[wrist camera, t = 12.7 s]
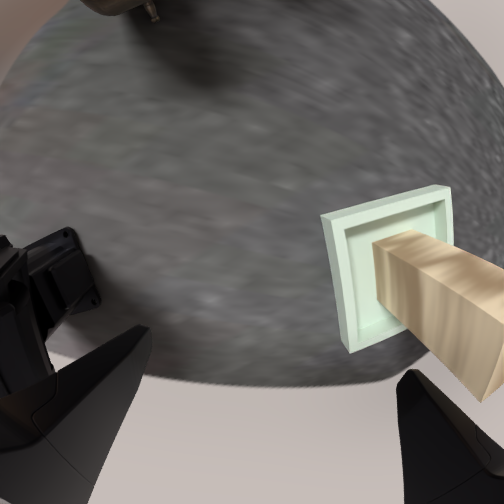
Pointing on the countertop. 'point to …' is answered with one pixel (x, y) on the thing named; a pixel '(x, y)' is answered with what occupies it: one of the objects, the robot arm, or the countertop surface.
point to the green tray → (361, 256)
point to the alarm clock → (121, 7)
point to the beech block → (446, 304)
